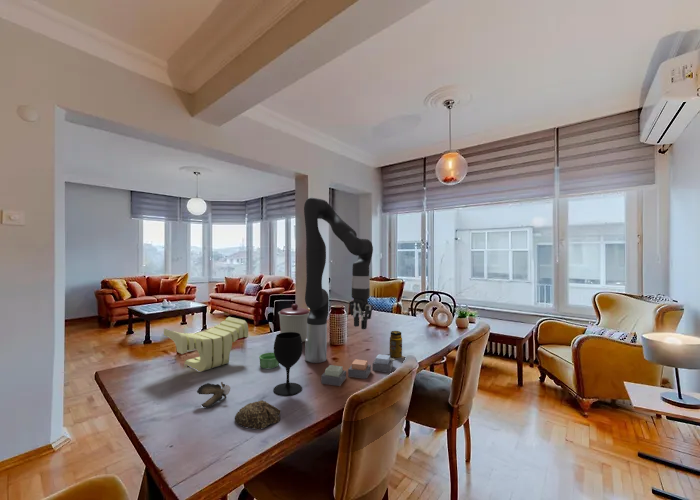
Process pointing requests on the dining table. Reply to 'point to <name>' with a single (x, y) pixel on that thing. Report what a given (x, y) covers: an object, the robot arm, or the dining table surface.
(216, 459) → the dining table surface
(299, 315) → the canister
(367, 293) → the robot arm
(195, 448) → the dining table surface
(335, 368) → the sage green button
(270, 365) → the ramekin
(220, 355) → the slatted curved stool
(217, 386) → the eagle figurine
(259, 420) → the brown low domed lump
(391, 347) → the condiment
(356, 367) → the terracotta button
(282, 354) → the wine glass
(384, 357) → the dusty blue button
